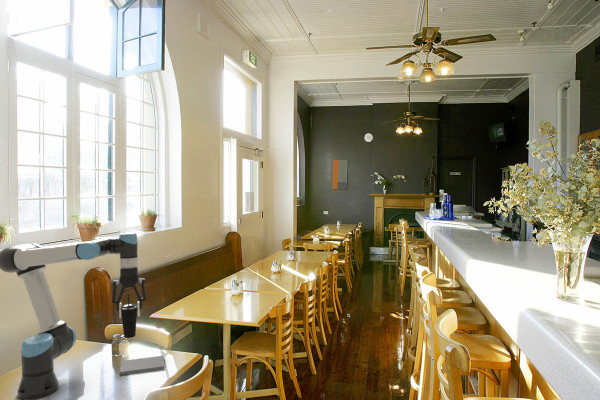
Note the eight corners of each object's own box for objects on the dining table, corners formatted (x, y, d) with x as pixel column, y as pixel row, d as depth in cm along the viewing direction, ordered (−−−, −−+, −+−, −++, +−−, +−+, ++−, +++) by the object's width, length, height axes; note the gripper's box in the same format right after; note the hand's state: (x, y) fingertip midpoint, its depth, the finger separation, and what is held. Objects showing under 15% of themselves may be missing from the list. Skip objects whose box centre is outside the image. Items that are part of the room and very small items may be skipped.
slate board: (119, 375, 201) (119, 372, 201) (121, 363, 214) (121, 360, 214) (164, 369, 207) (164, 366, 207) (163, 358, 220) (163, 355, 220)
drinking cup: (134, 339, 192) (133, 295, 191) (117, 339, 192) (116, 295, 191) (141, 333, 199) (140, 290, 199) (125, 333, 199) (123, 291, 199)
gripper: (104, 269, 188) (104, 321, 189) (151, 266, 194) (152, 316, 195) (106, 266, 195) (106, 316, 196) (152, 264, 201) (152, 312, 202)
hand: (129, 316), depth 195 cm, fingers closed on drinking cup, 7 cm apart
